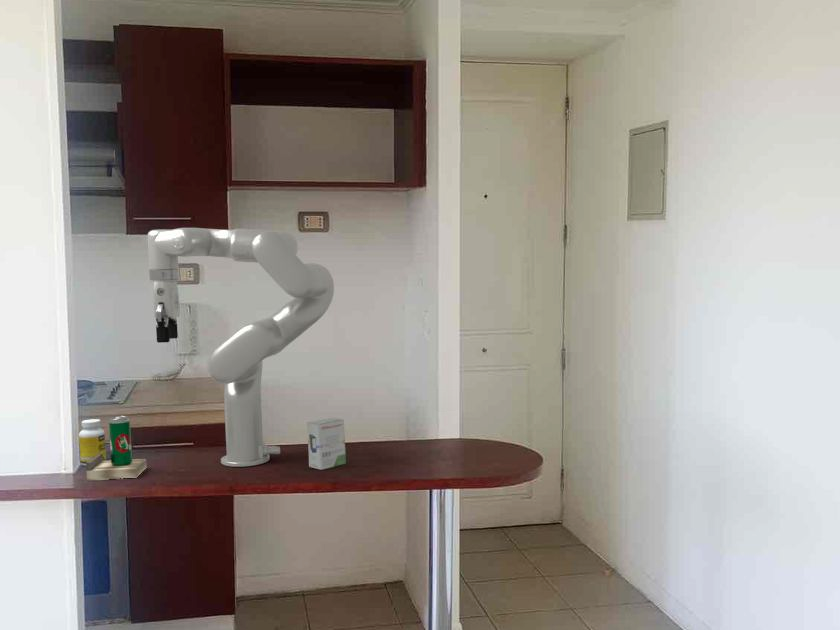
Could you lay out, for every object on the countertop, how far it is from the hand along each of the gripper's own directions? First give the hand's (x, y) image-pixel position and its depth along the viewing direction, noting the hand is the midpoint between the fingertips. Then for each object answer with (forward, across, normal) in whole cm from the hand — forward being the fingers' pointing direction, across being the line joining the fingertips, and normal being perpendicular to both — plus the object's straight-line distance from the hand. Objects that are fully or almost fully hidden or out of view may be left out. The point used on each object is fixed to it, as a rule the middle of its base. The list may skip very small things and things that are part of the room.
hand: (167, 340), depth 234 cm
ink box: (+33, -14, -42) cm, 55 cm away
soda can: (+30, -14, +10) cm, 34 cm away
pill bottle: (+32, -1, +21) cm, 39 cm away
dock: (+32, -14, +11) cm, 37 cm away
